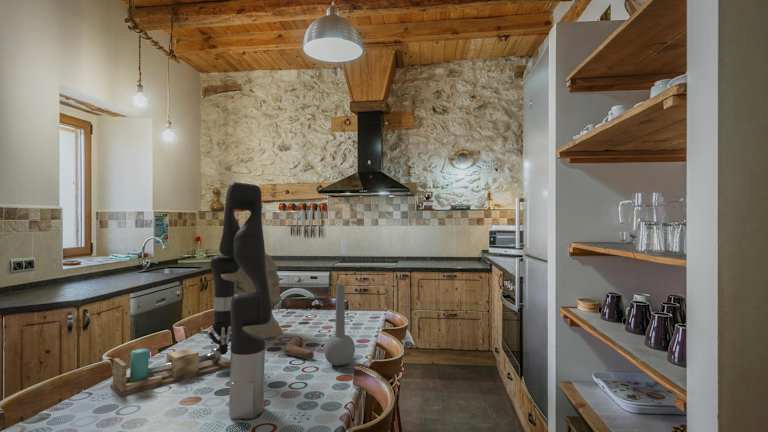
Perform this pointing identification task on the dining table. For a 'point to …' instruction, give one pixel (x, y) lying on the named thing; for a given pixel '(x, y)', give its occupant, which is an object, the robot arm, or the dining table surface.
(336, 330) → the grey ball with stem
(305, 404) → the dining table surface
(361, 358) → the dining table surface
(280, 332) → the bust
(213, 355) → the shaft
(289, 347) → the pipe
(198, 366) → the rig
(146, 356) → the cylinder
